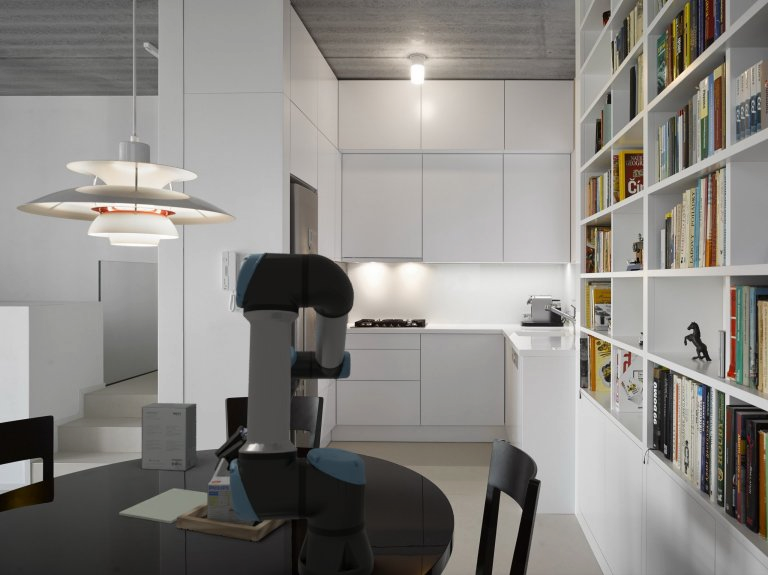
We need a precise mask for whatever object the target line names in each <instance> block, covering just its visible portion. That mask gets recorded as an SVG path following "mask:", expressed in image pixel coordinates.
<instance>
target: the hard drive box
mask: <svg viewBox="0 0 768 575" xmlns="http://www.w3.org/2000/svg"><path fill="white" fill-rule="evenodd" d="M196 465H197V403H188V402H187V403H183V402H182V403H179V402H173V403H171V402H154V403H149V404H145V405H143V406H141V469H142V470H143V469H144V470H162V471H164V470H165V471H183V472H184V471H187V470H189V469H191V468H192V467H194V466H196Z"/></svg>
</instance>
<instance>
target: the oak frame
mask: <svg viewBox="0 0 768 575" xmlns="http://www.w3.org/2000/svg"><path fill="white" fill-rule="evenodd" d="M206 516H207V502H205V503H203V504H201V505H199V506H197V507H195V508H194V509H192V510H190V511H188V512H186V513H184V514H182V515H180V516H178V517H177V521H176V528H177V529H181V528H182V530H187V529H189V530H188V531H192V530H193V532H199V533H204V534H210V535H211V534H212V535H218V536H221V535H222V536H223V537H227V538H235V539H240V540H245V541H250V540H252V542H256V541H257V542H259V541H260V540H261V539H262V538H264V537H266V536H267V535H269V533H271V532H272V531H274V530H276V529H277V528H278V527H279V526H281V525H282V524H284V523H285V522H287V519H286V520H262V521H261V522H259V523H258V524H257V525H255V526H253V527H252V526H246V525H240V524H234V523H228V522H222V521H215V520H209V519H207V518H204V517H206Z"/></svg>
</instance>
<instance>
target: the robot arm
mask: <svg viewBox="0 0 768 575" xmlns="http://www.w3.org/2000/svg"><path fill="white" fill-rule="evenodd" d="M237 274H238V275H237V280H236V289H235V292H236V293H235V305H236V307H237V308H239V309H242V315H243V318H245V320H247V321H248V322H249V350H248V351H249V355H248V356H249V357H248V358H249V360H248V387H247V415H246V416H247V417H246V418H247V421H246V423H247V424H246V428H245V427H244V426H243V425H240V426H239V427H237V430H236V431H235V432H234V433H233V434H232V435H231V436H230V437H229V438H228V439H227V440H226V441H225V442H224V443H223V444H222V445H221V446H220V447H219V448H218V449H217V450H216V451H214V455H215V456H216V458H217V459H218V461H217V463H216V465H215V467H214V471H215V472H214V474H213V476H212V478H211V480H212V479H213V478H214V477H224V475H225V474H226V471H227V470H228V467H229V477H230V492H231V500H232V506H233V509H234V512H235V515H236V516H237V517H238V518H239V519H241V520H249V521H255V522H259V523H262V522H263V521H265V520H286V521H287V520H307V522H306V523H307V526H306V527H307V529H306V533H305V537H304V540H303V543H302V547H301V549H300V551H299V555H298V560H297V562H298V565H297V567H298V568H297V572H298V574H299V575H372V573H373V571H374V564H375V562H374V559H375V558H374V553H373V551H372V547H371V544H370V540H369V537H368V534H367V531H366V483H367V478H366V468H365V467H366V465H365V461H364V460H363V458H362V457H361V456H360V455H358V454H357V453H355V452H352V451H351V450H345V449H340V448H334V447H318V448H316V447H315V448H312V449H310V450H309V451H308V453H307V454H306V457H298V448H297V447H296V445H294V443H292V441H291V403H292V400H293V398H294V396H295V393H296V392H297V389H298V388H299V386H300V383H301V380H340V379H348V378H349V377H350V376H351V366H352V364H351V361H352V360H351V353H350V352H349V351H347V350H345V349H346V340H347V326H348V318H349V317H348V316H349V313H350V312H351V311H352V309H353V307H354V301H355V291H354V287H353V284H352V281H351V279H350V277H349V276H348V274H347V273H346V272H345V271H344V269H343V268H342V267H341V266H340V265H339V264H338V263H336V262H335V261H333V260H332V259H331V258H329V257H327V256H324V255H321V254H319V253H318V254H317V253H282V252H278V253H277V252H264V253H250V254H247V255H246V256H244V258H243V259H242V261H241V263H240V266H239V270H238V273H237ZM308 308H312V309H313V310H314V312H315V350H305V351H303V350H298V351H297V350H296V349H295V347H294V346H292V326H293V325H292V324H293V323H294V322H295V321H296V320H297V319H298V318H299V316H300V309H308ZM236 456H238V458H235V457H236ZM233 458H234V459H233ZM232 459H233V460H232ZM229 461H230V464H229Z"/></svg>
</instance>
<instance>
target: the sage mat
mask: <svg viewBox="0 0 768 575" xmlns="http://www.w3.org/2000/svg"><path fill="white" fill-rule="evenodd" d="M205 502H207V492H204V491H203V492H202V491H195V490H189V489H182V488H176V487H175V488H174V487H173V488H171V489H169V490H167V491H166V490H165V492H162V493H159V494H158V495H155V496H152V497H151V498H149V499H146V500H144V501H142V502H139V503H137V504H135V505H133V506H130V507H128V508H126V509H124V510H121V511H119V512H118V515H119V516H123V517H124V516H125V517H129V518H133V519H134V518H135V519H142V520H145V521H154V522H159V523H165V524H173V523H175V522H177V517H178V516H180V515H182V514H184V513H186V512H188V511H190V510H192V509H194V508H195V507H197V506H199V505H201V504H203V503H205Z"/></svg>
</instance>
